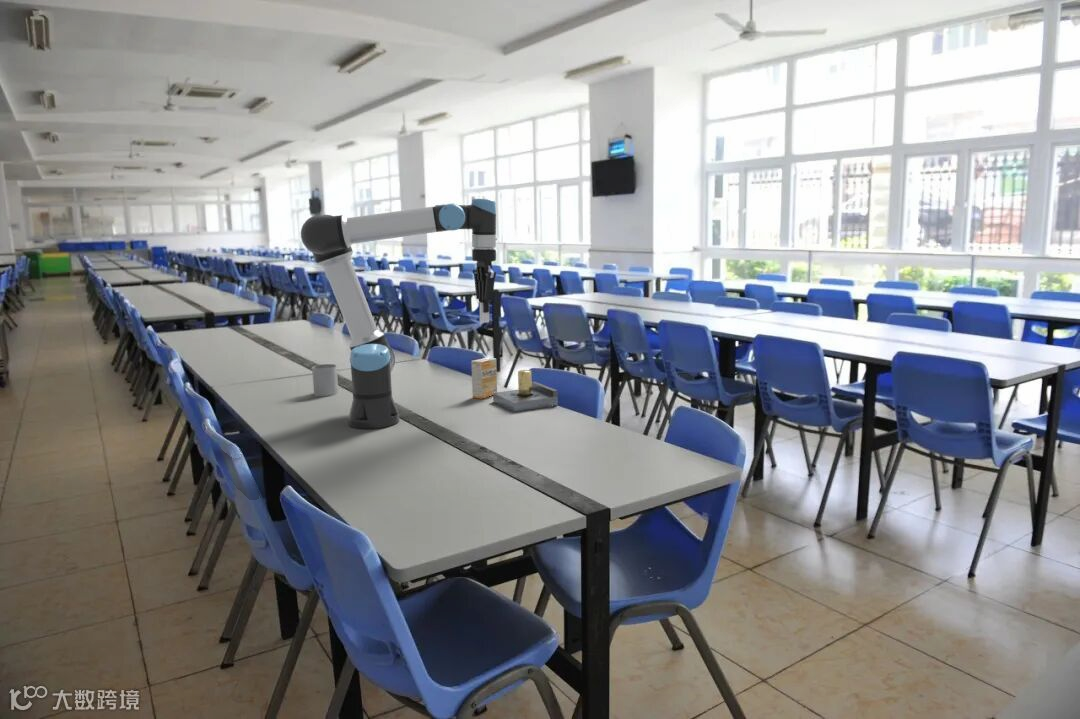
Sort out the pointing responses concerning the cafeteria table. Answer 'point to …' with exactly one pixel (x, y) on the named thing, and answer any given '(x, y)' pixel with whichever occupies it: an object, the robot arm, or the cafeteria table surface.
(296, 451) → the cafeteria table surface
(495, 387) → the supplement box
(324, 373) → the cup
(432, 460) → the cafeteria table surface
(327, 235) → the robot arm
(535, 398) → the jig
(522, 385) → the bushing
